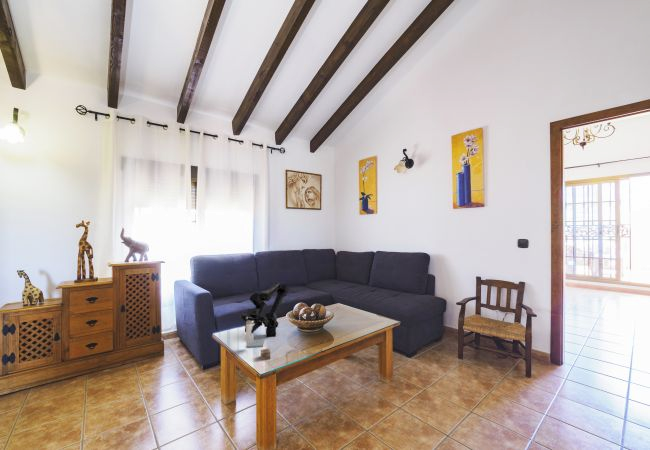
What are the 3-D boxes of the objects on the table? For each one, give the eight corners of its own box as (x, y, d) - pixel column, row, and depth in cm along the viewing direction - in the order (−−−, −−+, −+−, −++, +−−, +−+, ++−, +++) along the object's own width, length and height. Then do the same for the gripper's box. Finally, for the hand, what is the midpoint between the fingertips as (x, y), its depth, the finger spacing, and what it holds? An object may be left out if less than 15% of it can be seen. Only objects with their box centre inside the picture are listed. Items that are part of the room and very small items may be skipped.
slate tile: (264, 340, 187) (264, 339, 187) (262, 346, 177) (262, 345, 177) (249, 341, 186) (249, 339, 186) (247, 347, 176) (246, 346, 176)
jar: (254, 340, 176) (254, 319, 176) (253, 343, 171) (252, 322, 171) (247, 340, 175) (246, 320, 175) (245, 343, 171) (245, 322, 171)
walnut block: (269, 355, 165) (269, 348, 165) (270, 359, 161) (270, 352, 161) (260, 356, 164) (260, 349, 164) (261, 360, 159) (261, 353, 159)
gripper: (241, 301, 180) (230, 324, 170) (265, 304, 174) (255, 328, 163) (249, 310, 188) (238, 332, 177) (272, 313, 181) (263, 336, 171)
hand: (248, 332), depth 172 cm, fingers closed on jar, 4 cm apart
